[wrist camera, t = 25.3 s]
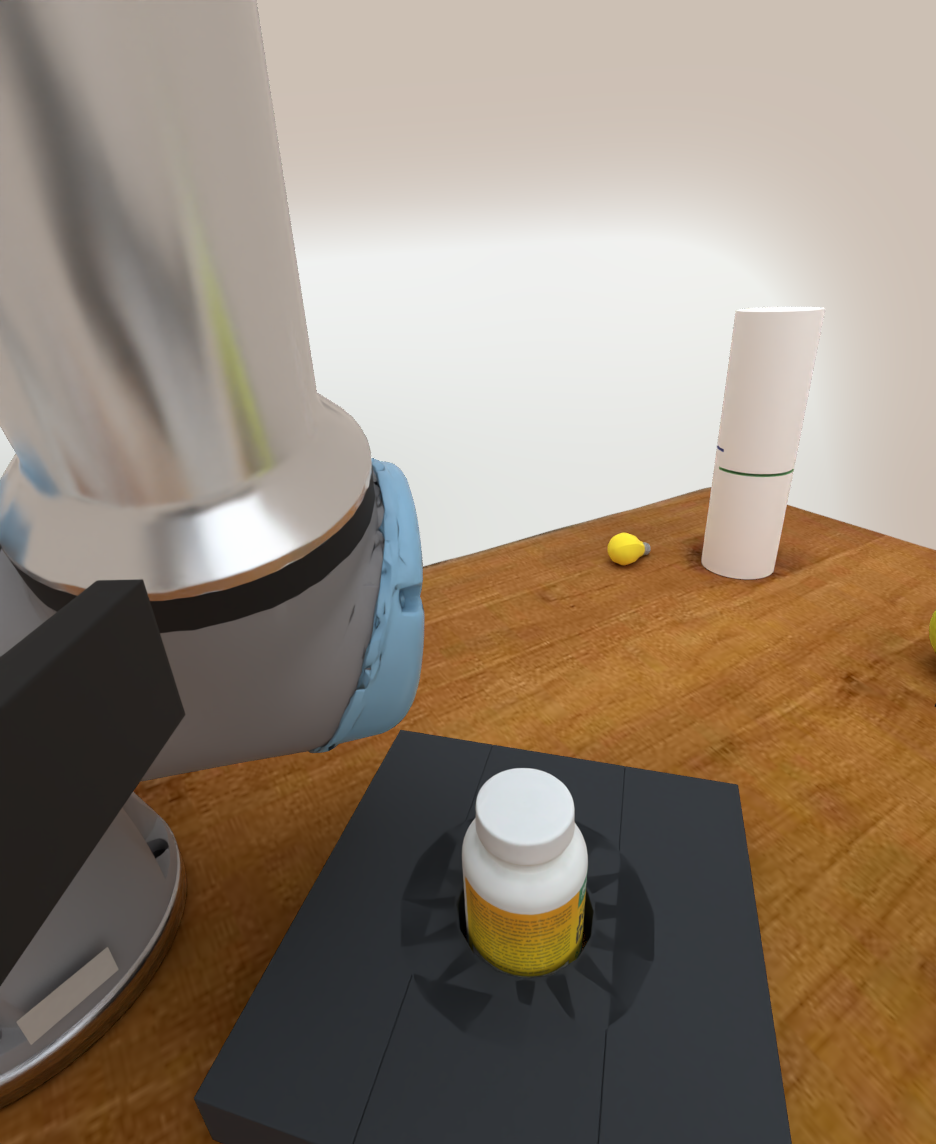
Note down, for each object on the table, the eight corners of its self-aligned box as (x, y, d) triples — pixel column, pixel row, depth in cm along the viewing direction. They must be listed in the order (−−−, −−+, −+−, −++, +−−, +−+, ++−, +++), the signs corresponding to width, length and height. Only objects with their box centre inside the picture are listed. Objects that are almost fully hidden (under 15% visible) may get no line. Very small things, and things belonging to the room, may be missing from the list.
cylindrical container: (757, 549, 68) (801, 305, 57) (786, 578, 61) (842, 309, 50) (692, 551, 68) (724, 309, 57) (714, 580, 62) (754, 313, 51)
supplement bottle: (461, 905, 31) (451, 762, 27) (563, 890, 31) (569, 747, 27) (476, 1020, 26) (467, 868, 22) (597, 1000, 27) (610, 847, 22)
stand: (211, 1139, 23) (192, 1098, 22) (404, 765, 40) (400, 729, 39) (798, 1366, 18) (820, 1330, 16) (730, 823, 35) (738, 784, 33)
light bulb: (601, 565, 66) (600, 532, 66) (634, 564, 69) (635, 533, 69) (626, 566, 63) (626, 531, 63) (660, 564, 67) (660, 532, 67)
